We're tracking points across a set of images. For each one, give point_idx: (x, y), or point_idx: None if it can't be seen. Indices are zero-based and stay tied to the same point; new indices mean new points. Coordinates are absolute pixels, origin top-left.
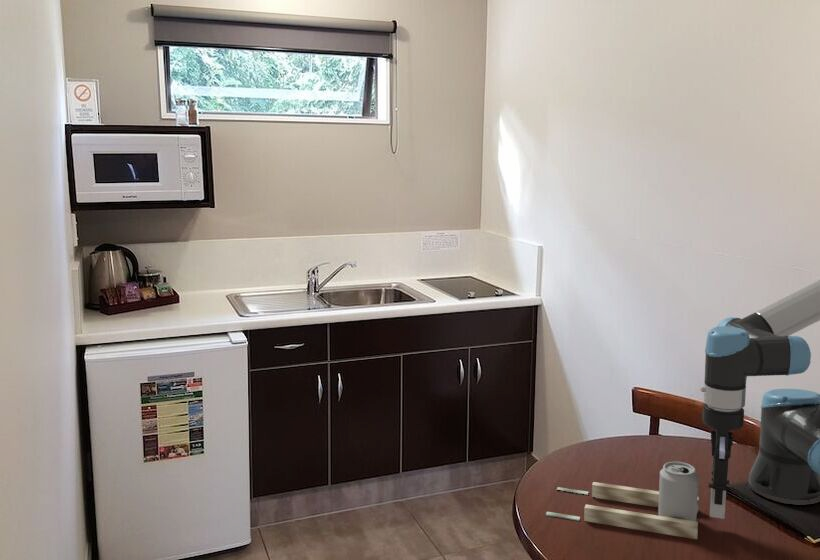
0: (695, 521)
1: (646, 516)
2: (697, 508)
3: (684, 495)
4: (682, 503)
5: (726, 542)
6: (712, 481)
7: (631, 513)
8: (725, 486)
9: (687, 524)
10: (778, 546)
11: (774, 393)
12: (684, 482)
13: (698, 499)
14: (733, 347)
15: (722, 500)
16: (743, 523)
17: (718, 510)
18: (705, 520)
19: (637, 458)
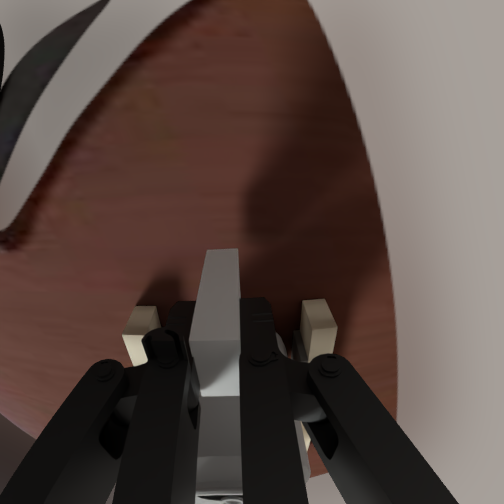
0: (311, 335)
1: None
2: (152, 317)
3: (299, 425)
4: None
5: (319, 220)
6: (199, 404)
7: (304, 435)
8: (362, 384)
9: (332, 349)
10: (288, 55)
11: None
12: (308, 471)
13: (139, 335)
14: None
15: (240, 305)
16: (155, 168)
17: (239, 287)
18: (190, 285)
19: (12, 391)
